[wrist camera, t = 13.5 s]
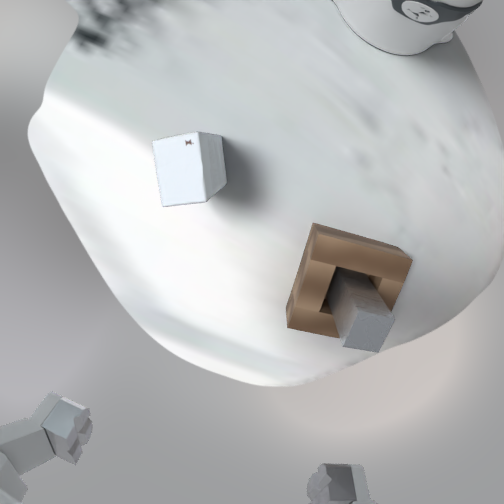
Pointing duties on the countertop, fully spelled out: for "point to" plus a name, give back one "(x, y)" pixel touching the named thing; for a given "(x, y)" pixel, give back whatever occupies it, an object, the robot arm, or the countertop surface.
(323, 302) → the walnut socket block
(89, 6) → the countertop surface
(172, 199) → the skincare box
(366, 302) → the metal peg
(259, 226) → the countertop surface
